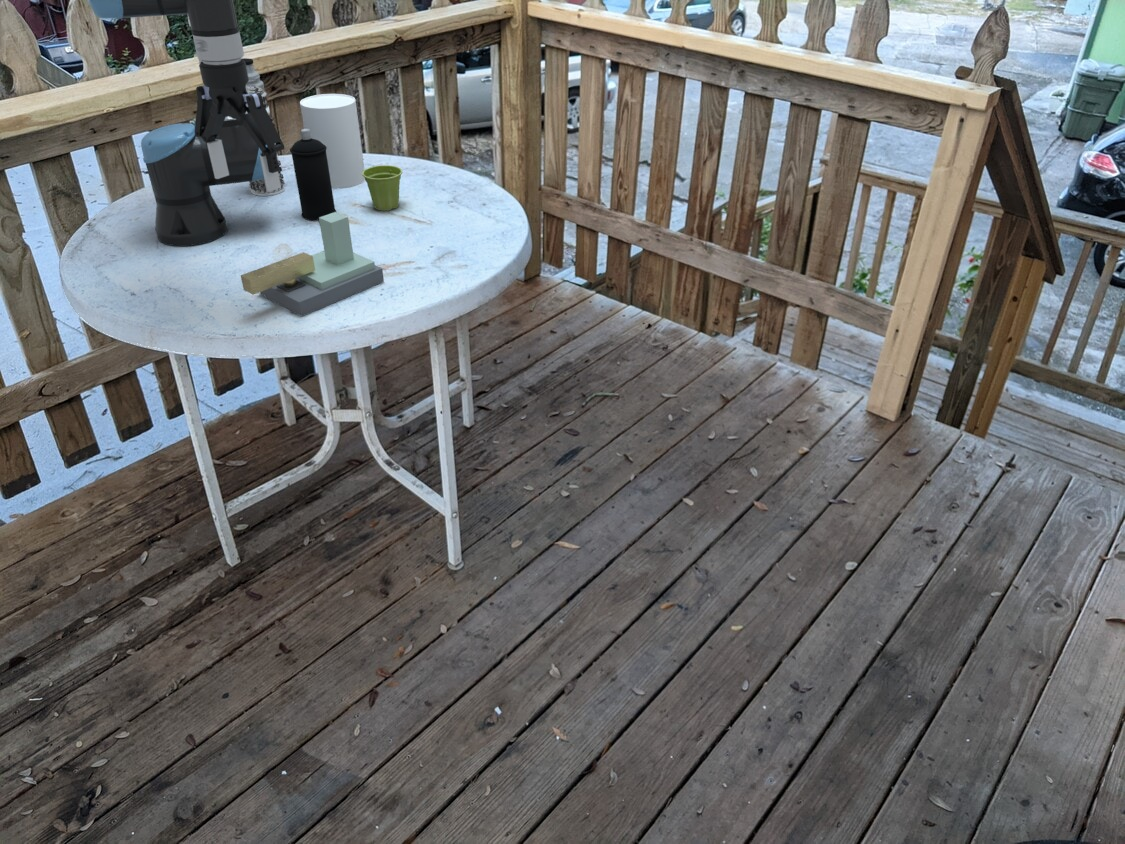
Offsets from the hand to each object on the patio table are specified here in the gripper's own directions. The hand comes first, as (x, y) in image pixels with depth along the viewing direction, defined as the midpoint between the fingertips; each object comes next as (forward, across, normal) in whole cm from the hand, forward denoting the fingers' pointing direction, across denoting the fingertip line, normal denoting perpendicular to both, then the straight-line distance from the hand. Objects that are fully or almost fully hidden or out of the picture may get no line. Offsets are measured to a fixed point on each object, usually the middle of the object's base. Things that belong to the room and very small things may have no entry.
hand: (247, 183), depth 157 cm
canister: (+22, -35, +57) cm, 70 cm away
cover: (+20, +6, +10) cm, 23 cm away
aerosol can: (+22, -22, +36) cm, 48 cm away
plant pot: (+22, -12, +49) cm, 55 cm away
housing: (+23, +6, +8) cm, 25 cm away
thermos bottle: (+22, -57, +52) cm, 80 cm away
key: (+20, +4, -1) cm, 20 cm away
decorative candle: (+22, -45, +42) cm, 65 cm away
